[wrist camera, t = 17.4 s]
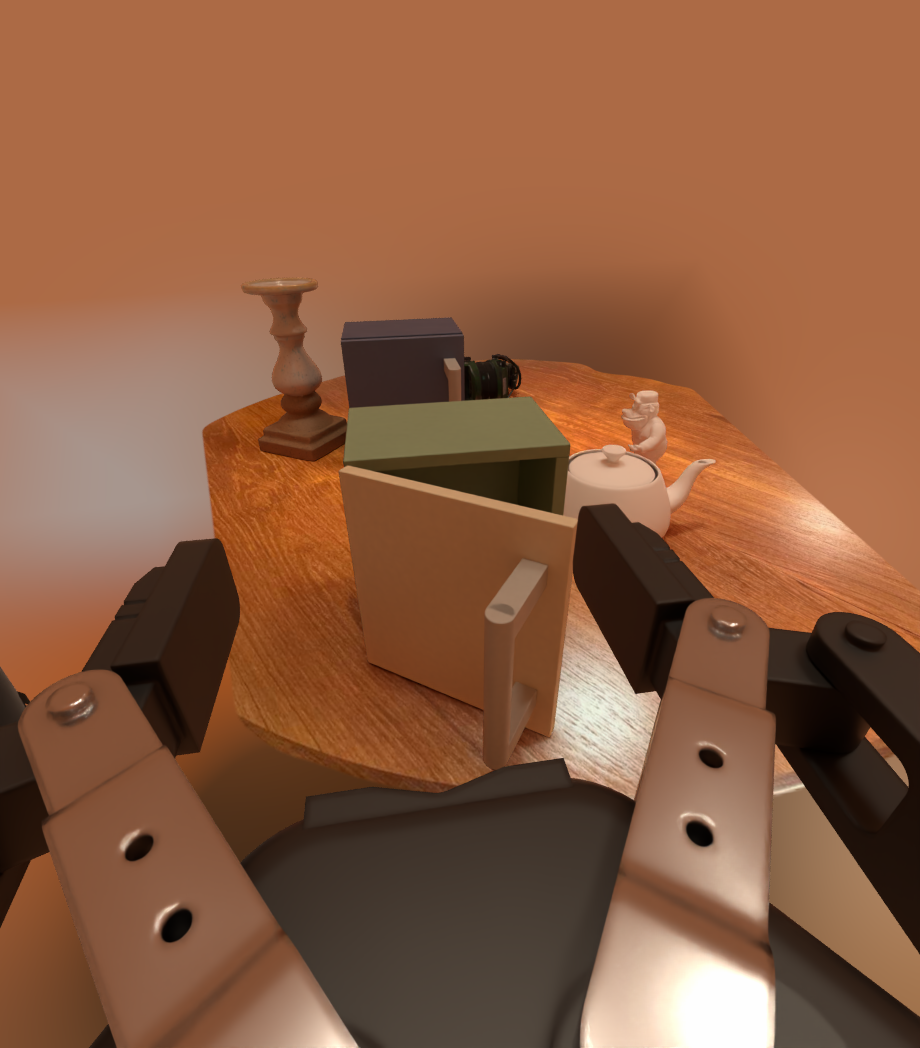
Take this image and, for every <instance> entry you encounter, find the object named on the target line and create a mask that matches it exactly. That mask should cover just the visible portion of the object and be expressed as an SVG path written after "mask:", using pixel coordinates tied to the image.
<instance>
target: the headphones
mask: <svg viewBox="0 0 920 1048" xmlns="http://www.w3.org/2000/svg"><path fill="white" fill-rule="evenodd" d="M498 359H502V360H503V361H502V360H498ZM470 360H471V358H470V357H464V395H465V401H469V400H485V399H501V398H509V396H510V395H511V394H512V392H513V390H514V389H515V390H516V389H518V388H519V386H520V384H521V373H520V370H519V366H517V365H516V364H515V363H514V362H513V361H512V360H511V359H509V358H508V357H507V356H504V355H500V354H497V355H492V360H487V361H486V362H476V363H475V361H470ZM504 360H505V361H504ZM506 361H507V362H509V363H506ZM518 374H519V383H518V386H517V387H516V384H517V379H518ZM508 388H510V389H512V391H511V392H510V394H509V395H508Z"/></svg>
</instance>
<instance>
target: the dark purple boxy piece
mask: <svg viewBox="0 0 920 1048" xmlns="http://www.w3.org/2000/svg"><path fill="white" fill-rule="evenodd" d="M454 334H462V332H461V330H460V329H459V327H458V326H457V325H456V323H455V322H454V320H453V319H452V318H433V319H432V318H431V319H409V320H386V321H364V322H345V324H344V329H343V333H342V338H341V340H351V339H371V338H392V337H413V336H434V335H454Z"/></svg>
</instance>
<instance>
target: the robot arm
mask: <svg viewBox="0 0 920 1048" xmlns="http://www.w3.org/2000/svg"><path fill="white" fill-rule="evenodd" d="M679 559H680V558H679V557H678V556H677V555H676V554H675V552H674V551H673V550H670V547H669V546H668V544H667V543H666V542H665V541H664V540H663V539H662V538H661V537H660V535H659V534H658V533H656V532H655V531H653V530H651V529H650V528H648V527H646V526H645V525H643V524H641V523H639V522H634V523H632V522H631V521H630V520H629V519H628V518H627V516H626V515H625V514H624V513H623V512H622V510H621V509H620V508H619V507H618V506H617V505H616V504H614V503H611V504H600V505H589V506H582V507H581V509H580V511H579V515H578V522H577V530H576V538H575V546H574V554H573V575H574V579H575V583H576V585H577V588H578V589H579V591H580V593H581V595H582V597H583V599H584V600H585V602H586V604H587V606H588V608H589V610H590V611H591V613H592V615H593V617H594V619H595V621H596V622H597V624H598V626H599V628H600V630H601V632H602V633H603V635H604V637H605V639H606V641H607V643H608V644H609V646H610V648H611V650H612V652H613V654H614V655H615V657H616V659H617V661H618V663H619V664H620V666H621V668H622V670H623V672H624V674H625V675H626V677H627V679H628V681H629V683H630V685H631V686H632V688H633V690H634V692H635V694H638V693H645V692H653V691H656V692H657V693H658V695H659V697H660V699H661V701H660V705H659V708H658V712H657V716H656V719H655V723H654V727H653V731H652V734H651V738H650V742H649V746H648V749H647V753H646V757H645V761H644V764H643V768H642V772H641V776H640V779H639V783H638V787H637V790H636V794H635V798H634V800H632V799H631V798H629V797H627V796H626V795H624V794H622V793H620V792H617V791H615V790H613V789H611V788H609V787H606V786H603V785H600V784H597V783H594V782H590V781H586V780H581V779H575V778H570V775H569V772H568V769H567V767H566V764H565V761H564V758H559V759H553V760H546V761H540V762H533V763H526V764H520V765H513V766H506V767H502V768H500V769H497V770H495V771H493V772H490V773H488V774H485V775H483V776H481V777H478V778H476V779H474V780H471V781H469V782H467V783H464V784H462V785H460V786H457V787H455V788H453V789H450V790H448V791H445V792H441V793H430V792H420V791H410V790H400V789H389V788H379V787H367V788H361V789H354V790H348V791H341V792H334V793H328V794H321V795H315V796H308V797H306V802H305V812H304V819H303V820H301V821H299V822H296V823H294V824H292V825H290V826H289V827H287V828H285V829H283V830H281V831H279V832H278V833H276V834H275V835H273V836H272V837H271V838H269V839H268V840H266V841H265V842H263V843H262V844H261V845H259V846H258V847H257V848H256V849H255V850H254V851H252V852H251V853H250V854H249V855H248V856H247V857H246V858H245V859H244V860H243V861H242V862H241V863H240V862H239V860H238V859H237V857H236V856H235V854H234V852H233V851H232V849H231V848H230V846H229V844H228V843H227V841H226V840H225V838H224V836H223V835H222V833H221V832H220V830H219V829H218V827H217V825H216V824H215V822H214V821H213V819H212V818H211V816H210V814H209V813H208V811H207V810H206V808H205V806H204V805H203V803H202V801H201V800H200V798H199V797H198V795H197V793H196V792H195V790H194V789H193V787H192V785H191V784H190V782H189V781H188V779H187V778H186V776H185V775H184V773H183V771H182V770H181V768H180V766H179V765H178V763H177V762H176V760H175V757H176V755H182V754H190V753H198V752H200V750H201V746H202V743H203V740H204V736H205V733H206V730H207V726H208V723H209V720H210V717H211V713H212V710H213V706H214V703H215V700H216V696H217V693H218V690H219V686H220V683H221V680H222V677H223V673H224V670H225V667H226V663H227V660H228V657H229V653H230V650H231V647H232V644H233V640H234V637H235V634H236V630H237V627H238V623H239V618H240V603H239V597H238V593H237V590H236V586H235V583H234V580H233V576H232V573H231V570H230V567H229V563H228V560H227V557H226V554H225V550H224V547H223V545H222V543H221V541H220V540H219V539H216V538H215V539H205V540H193V541H183V542H179V543H178V544H177V545H176V547H175V549H174V551H173V553H172V555H171V556H170V558H169V560H168V562H167V564H166V566H165V567H155V568H153V569H152V570H151V571H150V572H148V573H147V574H146V575H145V576H143V577H142V578H141V579H140V580H139V581H137V582H136V583H135V584H134V586H133V587H132V589H131V591H130V592H129V594H128V595H127V597H126V599H125V600H124V605H122V606H121V607H120V609H119V610H118V612H117V614H116V615H115V620H114V621H112V622H111V624H110V625H109V627H108V629H107V630H106V632H105V634H104V635H103V637H102V638H101V640H100V642H99V643H98V645H97V647H96V648H95V650H94V652H93V653H92V655H91V657H90V658H89V660H88V662H87V663H86V665H85V667H84V668H83V670H82V672H80V673H77V674H74V675H71V676H68V677H66V678H64V679H61V680H60V681H58V682H56V683H54V684H52V685H51V686H49V687H48V688H46V689H45V690H43V691H42V692H41V693H39V694H38V695H37V696H36V697H35V698H34V699H33V700H32V701H31V702H30V701H29V699H28V698H27V696H26V695H25V694H23V693H20V692H17V691H16V689H15V688H14V686H13V685H12V683H11V682H10V681H9V679H8V678H7V676H6V675H5V673H4V672H3V670H2V669H1V667H0V927H1V925H2V923H3V921H4V918H5V916H6V914H7V912H8V909H9V907H10V905H11V903H12V901H13V898H14V896H15V894H16V892H17V890H18V887H19V885H20V883H21V881H22V879H23V876H24V874H25V872H26V870H27V867H28V865H29V863H30V860H32V859H34V858H36V857H39V856H41V855H43V854H46V853H48V852H50V854H51V857H52V860H53V863H54V866H55V868H56V871H57V874H58V877H59V880H60V883H61V886H62V889H63V892H64V895H65V898H66V901H67V904H68V907H69V909H70V912H71V915H72V918H73V921H74V924H75V927H76V930H77V933H78V935H79V939H80V942H81V945H82V947H83V950H84V953H85V956H86V959H87V962H88V965H89V968H90V971H91V974H92V976H93V980H94V983H95V985H96V988H97V991H98V994H99V997H100V1000H101V1003H102V1006H103V1009H104V1012H105V1015H106V1018H107V1021H108V1023H109V1024H108V1025H107V1026H106V1027H105V1029H104V1030H103V1031H102V1032H101V1034H100V1035H99V1036H98V1037H97V1039H96V1040H95V1041H94V1042H93V1043H92V1045H91V1046H90V1047H89V1048H920V1017H919V1016H918V1015H917V1014H915V1013H914V1012H912V1011H911V1010H910V1009H908V1008H907V1007H906V1006H905V1005H903V1004H902V1003H901V1002H899V1001H898V1000H897V999H895V998H894V997H893V996H892V995H890V994H889V993H888V992H886V991H885V990H884V989H882V988H881V987H880V986H878V985H877V984H876V983H874V982H873V981H872V980H871V979H869V978H868V977H867V976H865V975H864V974H862V973H861V972H860V971H859V970H857V969H856V968H855V967H853V966H852V965H851V964H849V963H848V962H847V961H846V960H844V959H843V958H842V957H840V956H839V955H838V954H836V953H835V952H834V951H832V950H831V949H830V948H828V947H827V946H826V945H824V944H823V943H822V942H821V941H819V940H818V939H817V938H815V937H814V936H813V935H811V934H810V933H809V932H807V931H806V930H805V929H803V928H802V927H801V926H800V925H798V924H797V923H796V922H794V921H793V920H792V919H790V918H789V917H788V916H786V915H785V914H784V913H782V912H781V911H780V910H779V909H777V908H776V907H775V906H773V905H772V904H771V903H769V889H770V888H769V887H770V862H771V861H770V860H771V836H772V809H773V784H774V757H775V744H776V745H777V746H778V748H779V749H780V751H781V752H782V753H783V755H784V756H785V758H786V759H787V761H788V762H789V764H790V765H791V767H792V768H793V770H794V771H795V772H796V774H797V775H798V777H799V778H800V780H801V781H802V783H803V784H804V786H805V787H806V789H807V790H808V791H809V793H810V794H811V796H812V797H813V799H814V800H815V802H816V803H817V805H818V806H819V807H820V809H821V810H822V812H823V813H824V815H825V816H826V818H827V819H828V821H829V822H830V824H831V825H832V827H833V828H834V829H835V831H836V832H837V834H838V835H839V837H840V838H841V840H842V841H843V843H844V844H845V845H846V847H847V848H848V850H849V851H850V853H851V854H852V856H853V857H854V859H855V860H856V862H857V863H858V865H859V866H860V867H861V869H862V870H863V872H864V873H865V875H866V876H867V878H868V879H869V881H870V882H871V883H872V885H873V886H874V888H875V889H876V891H877V892H878V894H879V895H880V897H881V898H882V900H883V901H884V903H885V904H886V905H887V907H888V908H889V910H890V911H891V913H892V914H893V916H894V917H895V919H896V920H897V921H898V923H899V925H900V926H901V927H902V929H903V930H904V932H905V933H906V935H907V936H908V938H909V939H910V940H911V942H912V943H913V945H914V946H915V948H916V949H917V950H918V952H919V954H920V653H919V652H918V651H917V650H916V649H914V648H913V647H912V646H911V645H910V644H909V643H908V642H906V641H905V640H904V639H903V638H902V637H901V636H900V635H898V634H897V633H896V632H895V631H893V630H892V629H890V628H888V627H887V626H885V625H883V624H881V623H879V622H877V621H875V620H873V619H870V618H867V617H864V616H861V615H857V614H852V613H845V612H833V613H828V614H825V615H823V616H821V617H820V618H819V619H818V620H817V622H816V625H815V627H814V629H813V631H812V633H808V632H799V631H791V630H782V629H774V628H768V626H767V625H766V623H765V622H764V621H763V619H762V618H761V617H760V616H758V615H757V614H756V613H755V612H753V611H752V610H750V609H749V608H747V607H745V606H743V605H740V604H738V603H735V602H732V601H729V600H724V599H718V598H714V597H713V596H712V595H711V594H710V592H709V591H708V590H707V589H706V588H705V587H704V586H703V584H702V583H701V582H700V581H699V580H698V579H697V578H696V576H695V575H694V574H693V573H692V572H691V571H690V570H689V568H688V567H687V566H686V565H685V564H684V563H683V562H682V561H680V560H679ZM25 704H28V705H27V706H26V705H25ZM870 727H871V728H872V729H873V730H874V731H875V733H876V734H877V735H878V736H879V737H880V738H881V739H882V740H883V742H884V743H885V744H886V745H887V746H888V747H889V748H890V749H891V751H892V752H893V753H894V754H895V755H896V756H897V757H898V758H899V760H900V761H901V763H902V765H903V766H904V768H905V770H906V773H907V776H908V780H909V788H908V786H907V785H906V784H905V783H904V782H903V781H902V779H901V778H900V777H899V776H898V775H897V774H896V772H895V771H894V770H893V769H892V768H891V767H890V765H888V763H887V762H886V761H885V760H884V758H883V757H882V756H881V755H880V754H879V753H878V751H877V750H876V749H875V748H874V747H873V746H872V744H871V743H870V742H869V741H868V740H867V739H866V737H865V735H866V733H867V732H868V730H869V729H870Z"/></svg>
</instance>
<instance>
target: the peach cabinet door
mask: <svg viewBox="0 0 920 1048" xmlns="http://www.w3.org/2000/svg"><path fill="white" fill-rule="evenodd" d="M339 477H340V484H341V490H342V497H343V503H344V510H345V516H346V523H347V530H348V536H349V543H350V549H351V556H352V562H353V569H354V575H355V582H356V588H357V595H358V602H359V608H360V615H361V621H362V628H363V634H364V641H365V647H366V654H367V661H368V662H369V663H372V664H374V665H377V666H379V667H381V668H384V669H386V670H389V671H391V672H393V673H396V674H398V675H401V676H403V677H405V678H408V679H410V680H413V681H415V682H417V683H420V684H422V685H425V686H427V687H429V688H432V689H434V690H437V691H439V692H441V693H444V694H446V695H449V696H451V697H453V698H456V699H458V700H461V701H463V702H465V703H468V704H470V705H473V706H475V707H477V708H480V709H482V710H483V761H484V763H485V764H486V766H487V767H489V768H491V769H494V770H497V769H500V768H502V767H505V766H506V765H507V763H508V761H509V759H510V757H511V755H512V753H513V751H514V749H515V747H516V744H517V742H518V740H519V738H520V736H521V734H522V732H523V730H524V728H528V729H530V730H533V731H535V732H537V733H540V734H542V735H545V736H547V737H550V736H551V733H552V731H553V729H554V723H555V715H556V707H557V698H558V690H559V682H560V673H561V665H562V657H563V648H564V640H565V632H566V623H567V615H568V607H569V599H570V590H571V582H572V574H573V554H574V546H575V538H576V530H577V522H578V519H575V518H571V517H566V516H562V515H558V514H554V513H549V512H545V511H541V510H537V509H532V508H528V507H524V506H519V505H515V504H511V503H507V502H502V501H498V500H494V499H489V498H485V497H481V496H477V495H472V494H468V493H464V492H460V491H455V490H451V489H447V488H442V487H438V486H434V485H430V484H425V483H421V482H417V481H413V480H408V479H404V478H400V477H395V476H391V475H387V474H383V473H378V472H374V471H370V470H365V469H361V468H357V467H353V466H346V467H344V468H342V469H341V470H339Z"/></svg>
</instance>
